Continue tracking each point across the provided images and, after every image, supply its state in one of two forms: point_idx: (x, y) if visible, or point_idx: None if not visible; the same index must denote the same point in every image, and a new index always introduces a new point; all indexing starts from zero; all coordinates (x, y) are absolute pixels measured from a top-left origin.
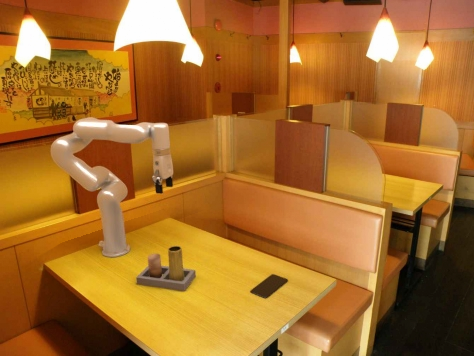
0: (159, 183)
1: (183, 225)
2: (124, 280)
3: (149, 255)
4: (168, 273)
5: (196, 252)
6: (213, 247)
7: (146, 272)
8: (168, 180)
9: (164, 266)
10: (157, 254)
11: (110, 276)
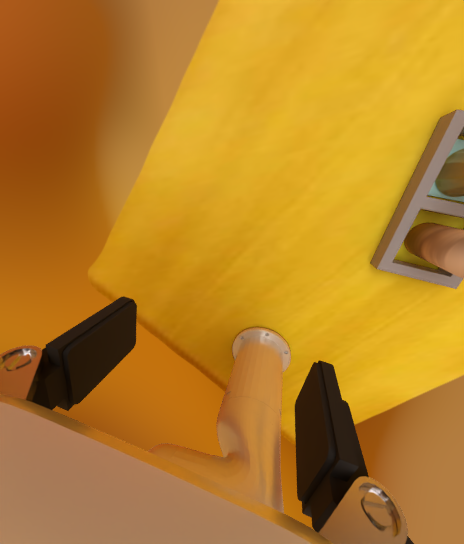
0: (401, 533)
1: (116, 231)
2: (412, 311)
3: (460, 274)
4: (454, 202)
5: (270, 156)
6: (237, 105)
7: (419, 268)
8: (88, 366)
9: (402, 225)
10: (459, 248)
11: (384, 342)
